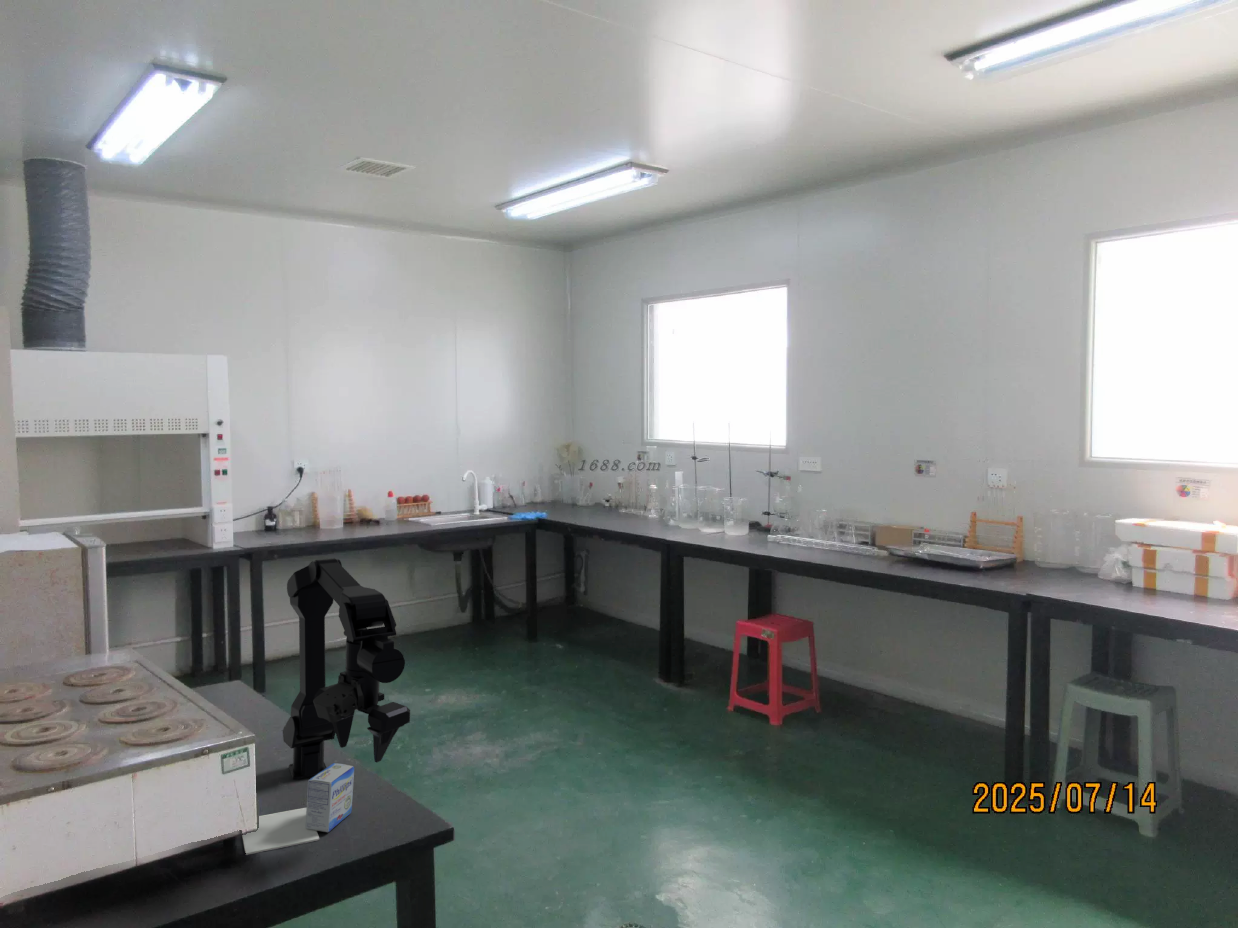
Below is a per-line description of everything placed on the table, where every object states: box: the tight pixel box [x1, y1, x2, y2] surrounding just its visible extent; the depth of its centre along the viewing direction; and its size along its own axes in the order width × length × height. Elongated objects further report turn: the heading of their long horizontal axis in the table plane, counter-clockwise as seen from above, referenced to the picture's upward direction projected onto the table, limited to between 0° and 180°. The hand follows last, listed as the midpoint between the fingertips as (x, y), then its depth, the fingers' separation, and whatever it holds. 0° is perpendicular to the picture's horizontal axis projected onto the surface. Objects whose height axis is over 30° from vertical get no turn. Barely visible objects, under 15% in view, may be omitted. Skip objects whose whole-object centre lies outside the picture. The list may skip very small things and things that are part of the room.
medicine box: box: [305, 762, 355, 833], centre depth 144 cm, size 8×4×9 cm, turn 169°
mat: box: [241, 807, 320, 856], centre depth 141 cm, size 12×11×1 cm
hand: (360, 753), depth 144 cm, fingers open, 9 cm apart
